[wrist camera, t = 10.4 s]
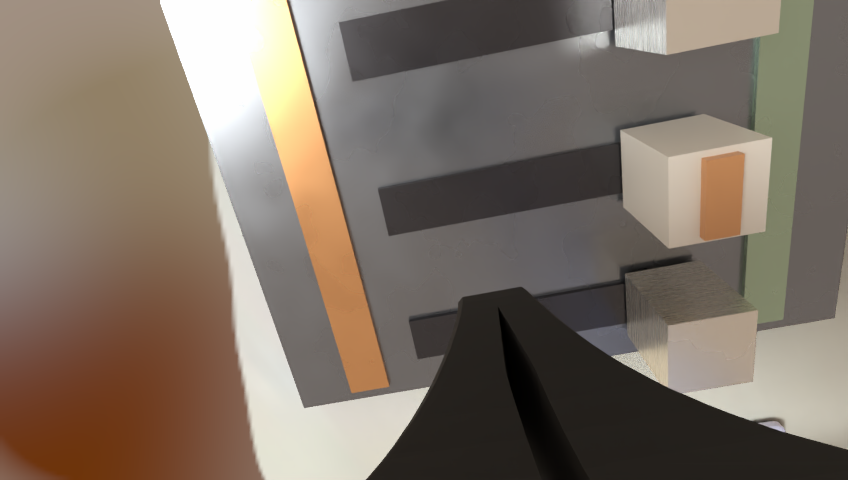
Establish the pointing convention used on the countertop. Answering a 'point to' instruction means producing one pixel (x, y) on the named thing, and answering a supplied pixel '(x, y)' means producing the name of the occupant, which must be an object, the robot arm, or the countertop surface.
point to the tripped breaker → (696, 179)
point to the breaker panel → (514, 172)
